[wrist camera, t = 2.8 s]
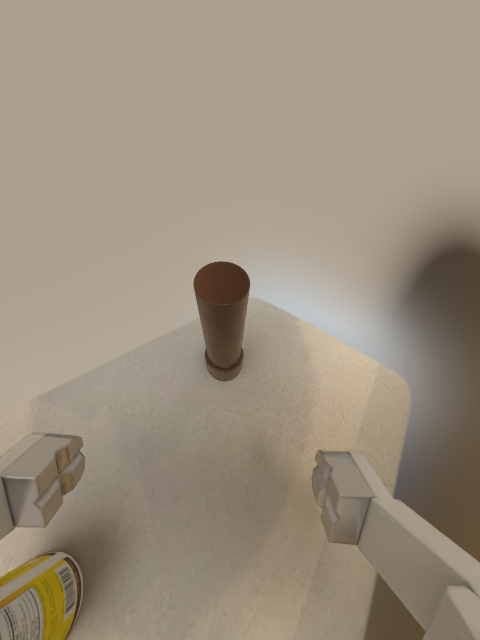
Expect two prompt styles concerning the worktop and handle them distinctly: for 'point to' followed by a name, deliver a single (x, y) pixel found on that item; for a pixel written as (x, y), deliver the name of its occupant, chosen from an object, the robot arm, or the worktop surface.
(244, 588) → the worktop surface
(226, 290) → the brown flanged cylinder
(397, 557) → the robot arm
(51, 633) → the supplement bottle
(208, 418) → the worktop surface
